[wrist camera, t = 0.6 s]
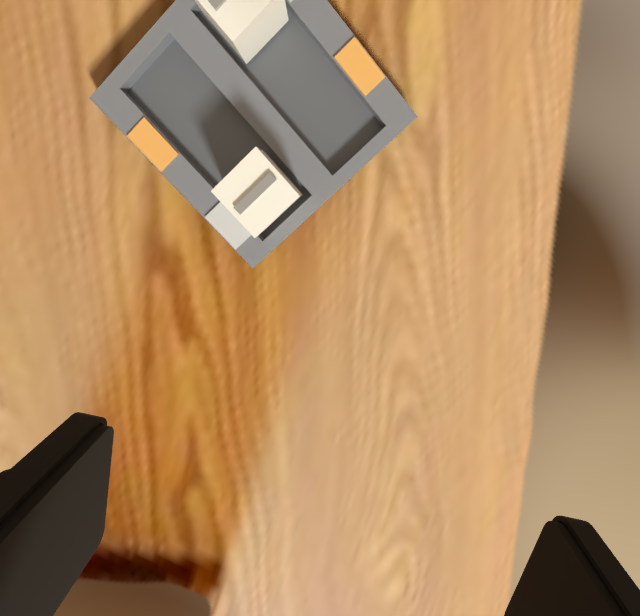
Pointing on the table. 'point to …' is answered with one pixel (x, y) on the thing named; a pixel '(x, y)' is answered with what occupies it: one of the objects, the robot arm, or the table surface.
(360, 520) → the table surface
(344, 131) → the switch bank
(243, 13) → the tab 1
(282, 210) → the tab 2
